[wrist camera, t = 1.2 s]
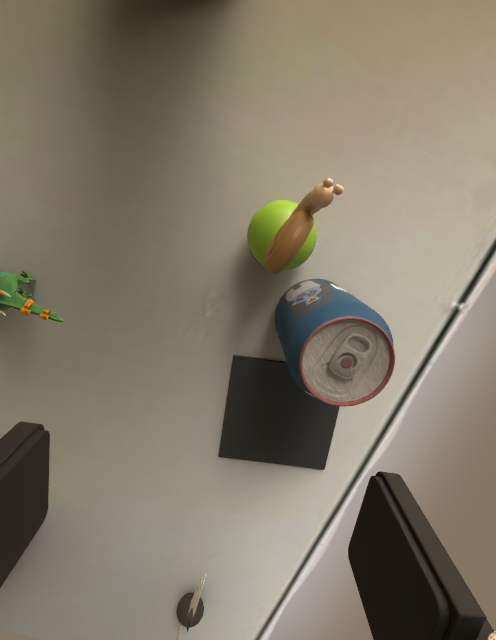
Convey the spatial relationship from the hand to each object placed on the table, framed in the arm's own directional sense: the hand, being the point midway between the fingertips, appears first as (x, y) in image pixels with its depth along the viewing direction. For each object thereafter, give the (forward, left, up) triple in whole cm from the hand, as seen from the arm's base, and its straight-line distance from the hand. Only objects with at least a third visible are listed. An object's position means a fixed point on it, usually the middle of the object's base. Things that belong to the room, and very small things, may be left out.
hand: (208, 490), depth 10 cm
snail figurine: (-7, +3, -24) cm, 25 cm away
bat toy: (+35, 0, -24) cm, 42 cm away
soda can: (0, +7, -24) cm, 25 cm away
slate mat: (+10, +6, -23) cm, 26 cm away
